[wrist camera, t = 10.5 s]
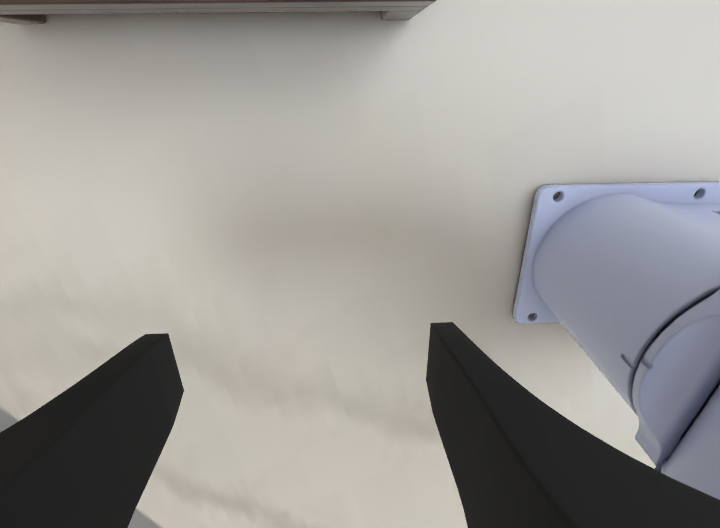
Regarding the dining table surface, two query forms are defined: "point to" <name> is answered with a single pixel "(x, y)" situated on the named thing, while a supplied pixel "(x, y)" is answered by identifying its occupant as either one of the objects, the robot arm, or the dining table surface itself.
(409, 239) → the dining table surface
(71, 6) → the shelf
